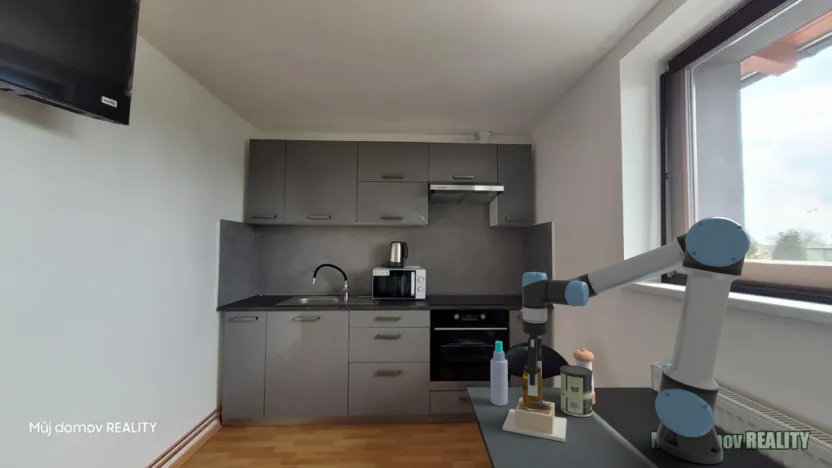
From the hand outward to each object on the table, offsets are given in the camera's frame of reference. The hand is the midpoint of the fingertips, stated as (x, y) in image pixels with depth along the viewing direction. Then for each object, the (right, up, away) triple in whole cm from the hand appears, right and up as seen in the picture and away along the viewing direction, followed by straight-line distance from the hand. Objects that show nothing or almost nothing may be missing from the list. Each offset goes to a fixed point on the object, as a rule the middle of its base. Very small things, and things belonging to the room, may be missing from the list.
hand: (535, 387), depth 120 cm
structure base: (0, -12, 0) cm, 12 cm away
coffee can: (+18, -12, +11) cm, 24 cm away
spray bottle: (-8, -13, +17) cm, 23 cm away
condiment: (0, -6, 0) cm, 6 cm away
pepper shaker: (+24, -13, +19) cm, 33 cm away
